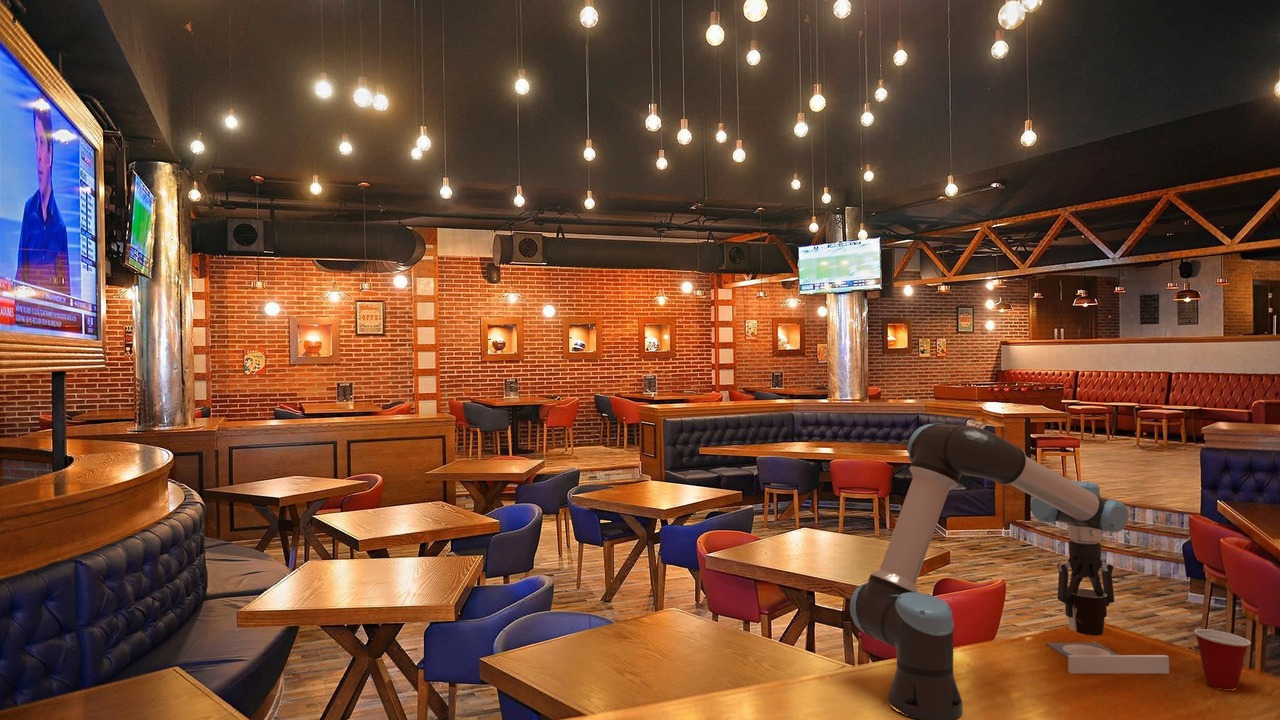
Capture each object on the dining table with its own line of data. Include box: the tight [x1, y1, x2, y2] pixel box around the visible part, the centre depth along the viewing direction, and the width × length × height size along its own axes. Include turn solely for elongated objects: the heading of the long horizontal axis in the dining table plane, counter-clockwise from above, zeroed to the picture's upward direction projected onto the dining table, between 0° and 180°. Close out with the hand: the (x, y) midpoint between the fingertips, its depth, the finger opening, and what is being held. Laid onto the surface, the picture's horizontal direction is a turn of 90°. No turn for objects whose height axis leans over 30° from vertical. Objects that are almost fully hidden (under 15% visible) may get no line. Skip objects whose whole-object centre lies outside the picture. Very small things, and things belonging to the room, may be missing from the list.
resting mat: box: [1045, 642, 1119, 659], centre depth 209 cm, size 14×14×1 cm
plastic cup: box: [1193, 628, 1252, 689], centre depth 186 cm, size 11×11×12 cm
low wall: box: [1067, 654, 1170, 674], centre depth 195 cm, size 24×1×4 cm, turn 90°
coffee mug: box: [1071, 588, 1107, 637], centre depth 209 cm, size 12×9×10 cm
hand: (1086, 629), depth 209 cm, fingers closed on coffee mug, 6 cm apart
